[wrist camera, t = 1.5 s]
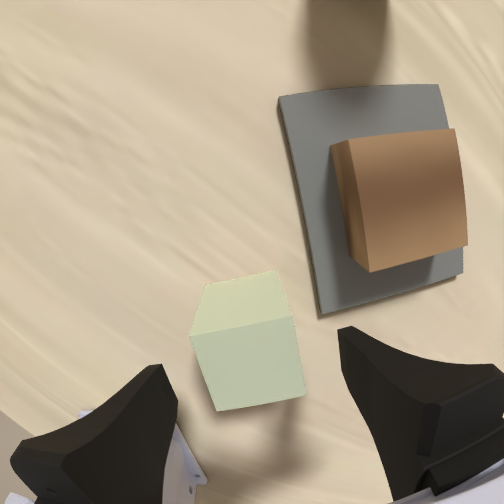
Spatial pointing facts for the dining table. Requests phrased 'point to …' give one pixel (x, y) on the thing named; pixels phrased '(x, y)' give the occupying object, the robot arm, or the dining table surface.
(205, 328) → the sage pillar
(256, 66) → the dining table surface
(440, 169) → the walnut block
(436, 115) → the mat
